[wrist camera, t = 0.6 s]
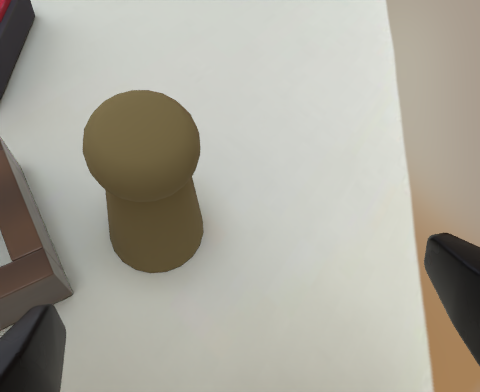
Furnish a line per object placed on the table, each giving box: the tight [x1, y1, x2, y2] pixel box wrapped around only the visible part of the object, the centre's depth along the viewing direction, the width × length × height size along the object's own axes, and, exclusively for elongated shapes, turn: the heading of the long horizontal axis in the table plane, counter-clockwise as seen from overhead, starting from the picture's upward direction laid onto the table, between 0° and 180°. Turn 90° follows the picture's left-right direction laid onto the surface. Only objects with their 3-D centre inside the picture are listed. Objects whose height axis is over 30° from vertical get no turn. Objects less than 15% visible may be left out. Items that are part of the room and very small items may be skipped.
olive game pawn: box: [83, 90, 203, 273], centre depth 22 cm, size 6×6×11 cm
